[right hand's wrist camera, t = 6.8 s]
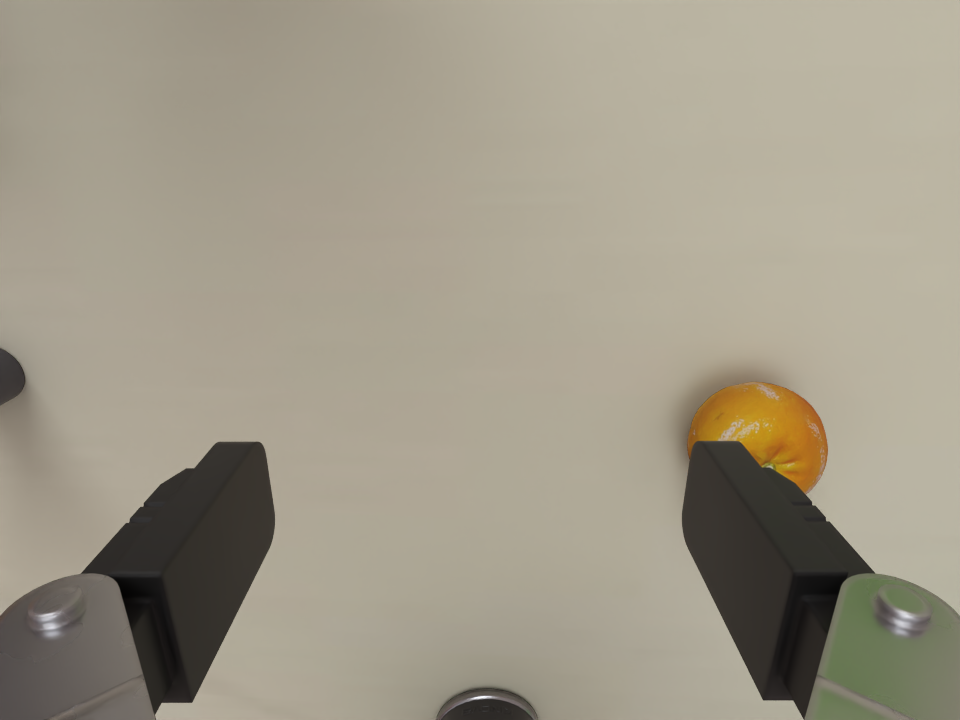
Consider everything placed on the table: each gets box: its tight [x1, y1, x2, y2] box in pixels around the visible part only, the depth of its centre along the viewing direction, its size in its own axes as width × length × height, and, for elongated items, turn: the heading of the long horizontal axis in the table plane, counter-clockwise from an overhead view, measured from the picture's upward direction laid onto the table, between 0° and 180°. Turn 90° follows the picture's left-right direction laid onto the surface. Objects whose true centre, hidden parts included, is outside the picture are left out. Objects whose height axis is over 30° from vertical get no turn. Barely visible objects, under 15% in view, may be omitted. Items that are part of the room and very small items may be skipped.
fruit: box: [687, 382, 828, 495], centre depth 40 cm, size 8×8×8 cm
